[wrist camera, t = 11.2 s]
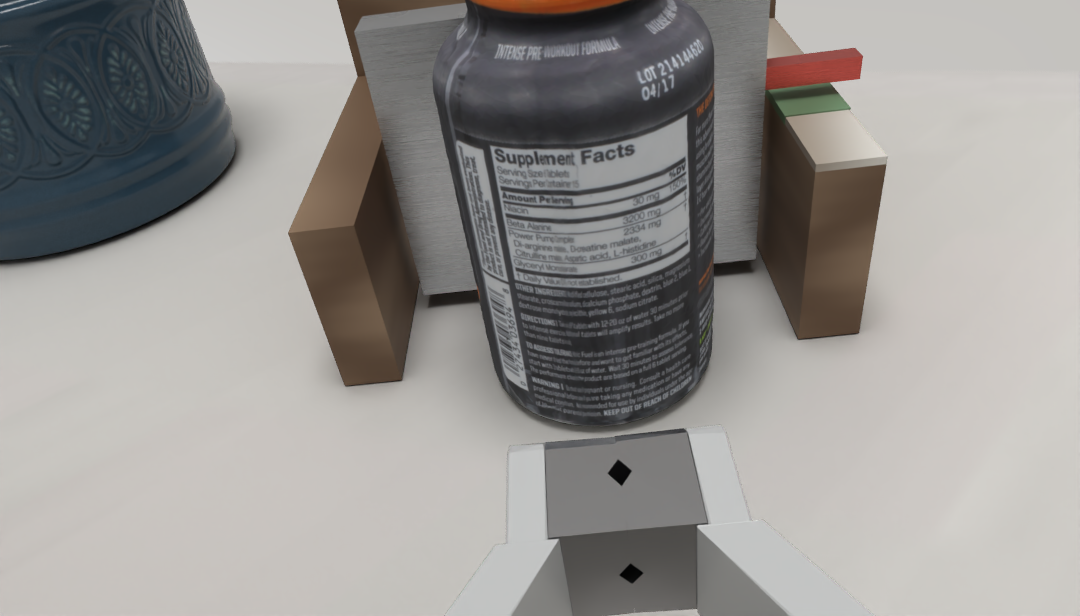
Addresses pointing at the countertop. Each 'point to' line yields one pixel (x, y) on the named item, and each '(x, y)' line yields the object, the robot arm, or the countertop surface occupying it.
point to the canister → (102, 120)
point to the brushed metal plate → (422, 164)
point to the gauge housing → (782, 235)
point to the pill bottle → (586, 197)
